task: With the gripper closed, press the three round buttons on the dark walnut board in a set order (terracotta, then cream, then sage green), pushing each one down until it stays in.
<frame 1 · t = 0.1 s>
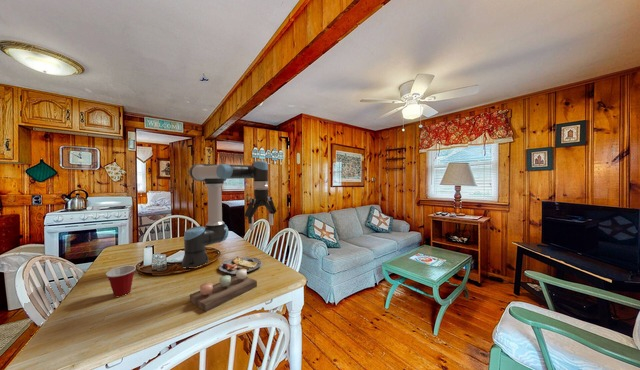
hand: (261, 227, 123), 28 cm above the table, tool pointing down, fingers open, 13 cm apart
sage button: (225, 280, 106), point 6 cm above the table, slide at 0.0 cm
cream button: (241, 274, 113), point 6 cm above the table, slide at 0.0 cm
button board: (225, 293, 106), on the table
plastic cup: (122, 294, 106), on the table
terracotta button: (206, 288, 99), point 6 cm above the table, slide at 0.0 cm
food plate: (240, 268, 137), on the table
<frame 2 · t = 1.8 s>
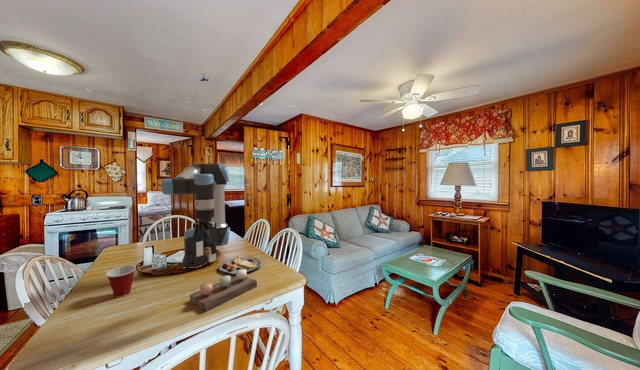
hand: (206, 258, 98), 20 cm above the table, tool pointing down, fingers open, 10 cm apart
nothing on the table moved.
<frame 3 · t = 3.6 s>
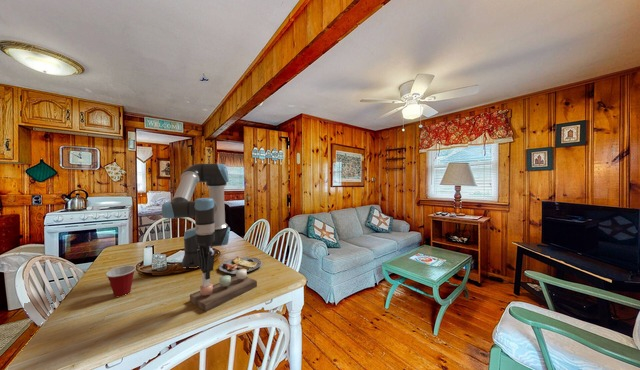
hand: (206, 285, 99), 8 cm above the table, tool pointing down, fingers closed
terracotta button: (206, 289, 99), point 6 cm above the table, slide at 0.3 cm, touching gripper
everything else where it was.
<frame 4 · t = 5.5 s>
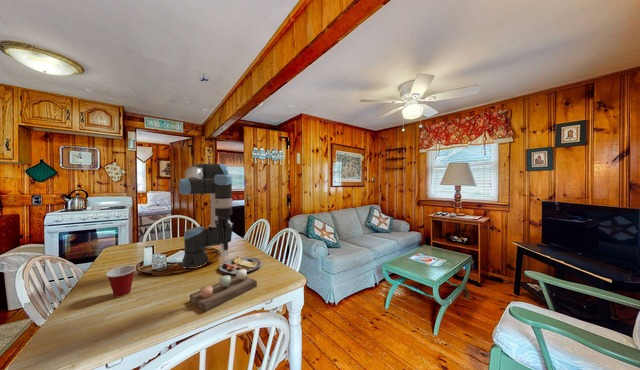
hand: (224, 256, 106), 18 cm above the table, tool pointing down, fingers closed
terracotta button: (206, 291, 99), point 5 cm above the table, slide at 1.5 cm
everything else where it was.
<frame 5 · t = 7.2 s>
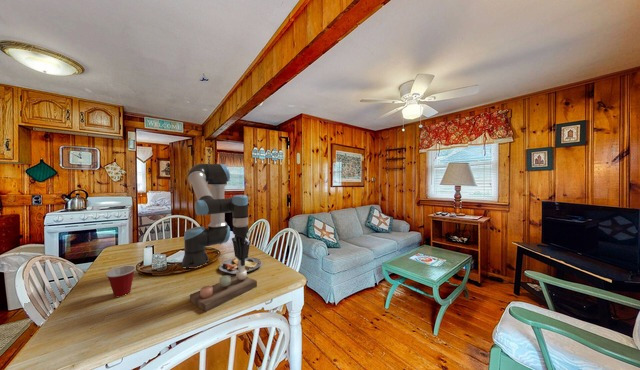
hand: (241, 271, 113), 8 cm above the table, tool pointing down, fingers closed
cream button: (241, 274, 113), point 6 cm above the table, slide at 0.3 cm, touching gripper
everything else where it was.
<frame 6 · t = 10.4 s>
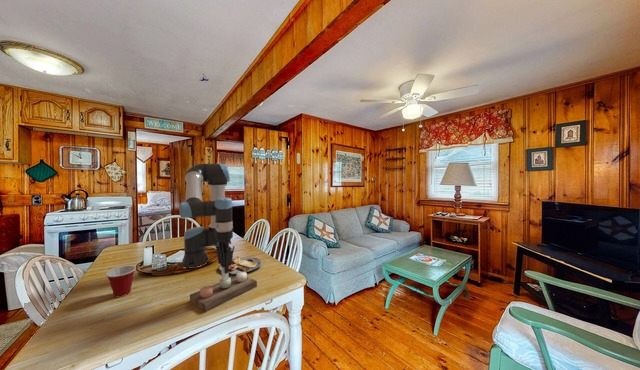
hand: (225, 279, 106), 7 cm above the table, tool pointing down, fingers closed
sage button: (225, 282, 106), point 5 cm above the table, slide at 0.9 cm, touching gripper
cream button: (241, 276, 113), point 5 cm above the table, slide at 1.5 cm
everything else where it was.
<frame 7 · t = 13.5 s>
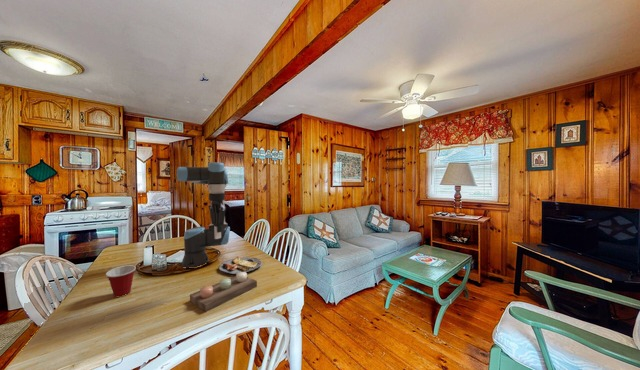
hand: (217, 238, 114), 24 cm above the table, tool pointing down, fingers closed
sage button: (225, 283, 106), point 5 cm above the table, slide at 1.5 cm
everything else where it was.
at the end: terracotta button slide at 1.5 cm; cream button slide at 1.5 cm; sage button slide at 1.5 cm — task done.
